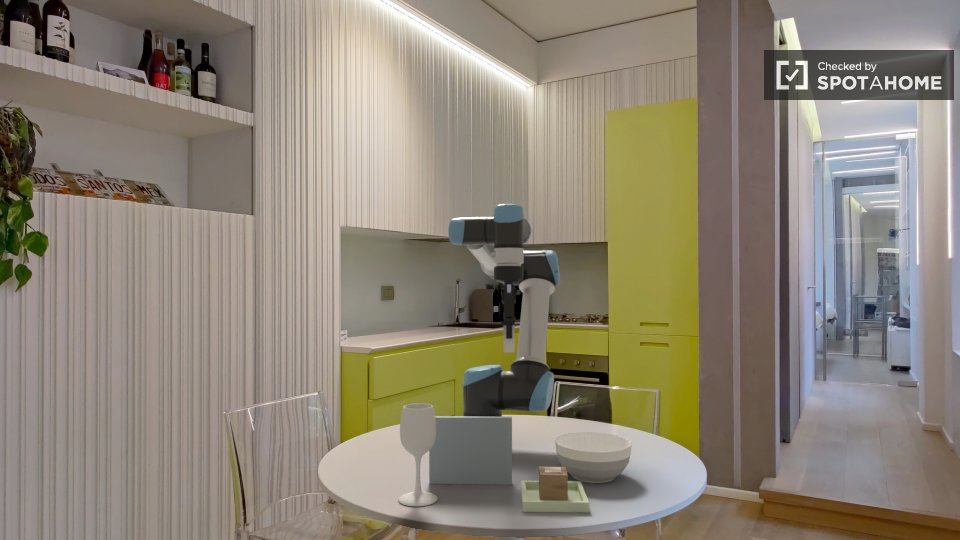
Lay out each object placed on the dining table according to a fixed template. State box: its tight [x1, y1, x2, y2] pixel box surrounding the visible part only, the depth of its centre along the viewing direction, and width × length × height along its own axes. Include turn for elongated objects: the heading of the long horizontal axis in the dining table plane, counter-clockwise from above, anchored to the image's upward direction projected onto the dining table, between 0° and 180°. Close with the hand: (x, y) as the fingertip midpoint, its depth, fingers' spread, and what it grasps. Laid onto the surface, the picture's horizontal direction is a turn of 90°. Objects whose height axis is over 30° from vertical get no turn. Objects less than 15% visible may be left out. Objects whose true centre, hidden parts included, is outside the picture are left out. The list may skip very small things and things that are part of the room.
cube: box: [538, 466, 569, 501], centre depth 140 cm, size 6×6×6 cm
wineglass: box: [398, 402, 438, 507], centre depth 140 cm, size 9×9×21 cm
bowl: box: [554, 431, 632, 484], centre depth 157 cm, size 19×19×9 cm
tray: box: [520, 480, 590, 514], centre depth 140 cm, size 14×14×2 cm
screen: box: [428, 415, 513, 486], centre depth 151 cm, size 20×2×16 cm, turn 88°
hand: (508, 349), depth 158 cm, fingers open, 13 cm apart
